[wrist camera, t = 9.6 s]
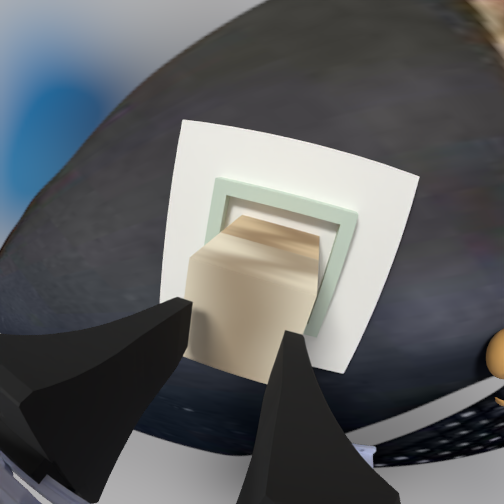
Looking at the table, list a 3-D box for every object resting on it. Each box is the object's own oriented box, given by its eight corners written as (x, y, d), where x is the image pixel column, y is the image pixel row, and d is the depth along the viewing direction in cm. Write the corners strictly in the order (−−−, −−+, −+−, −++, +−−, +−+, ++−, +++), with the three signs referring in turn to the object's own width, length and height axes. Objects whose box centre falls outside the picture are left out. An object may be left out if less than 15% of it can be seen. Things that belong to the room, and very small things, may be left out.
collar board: (414, 175, 15) (423, 177, 14) (343, 365, 20) (343, 381, 19) (189, 120, 17) (176, 118, 16) (164, 312, 22) (153, 323, 21)
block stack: (319, 236, 17) (317, 295, 10) (297, 305, 19) (281, 388, 12) (242, 214, 18) (189, 257, 11) (227, 284, 19) (178, 354, 12)
